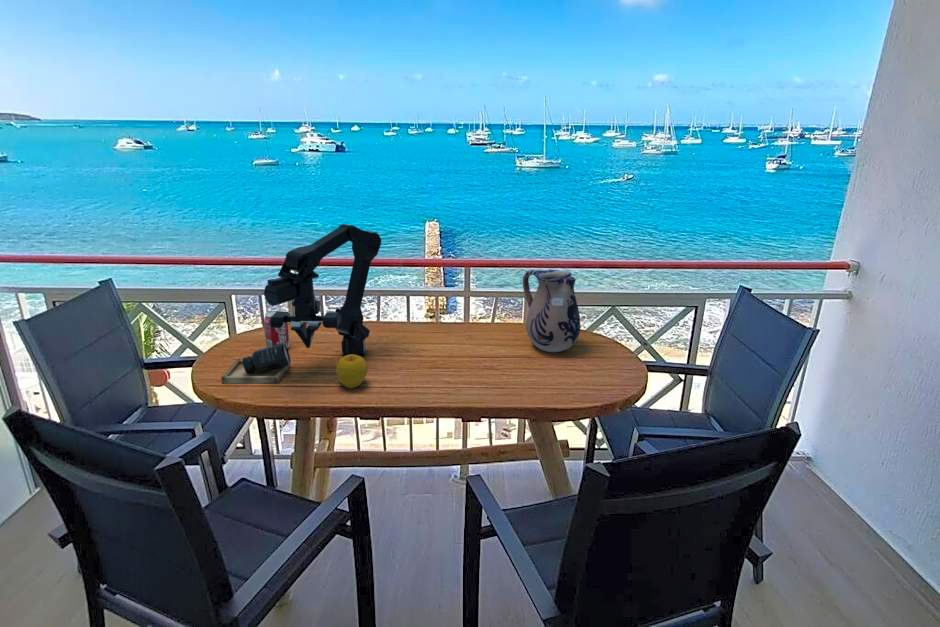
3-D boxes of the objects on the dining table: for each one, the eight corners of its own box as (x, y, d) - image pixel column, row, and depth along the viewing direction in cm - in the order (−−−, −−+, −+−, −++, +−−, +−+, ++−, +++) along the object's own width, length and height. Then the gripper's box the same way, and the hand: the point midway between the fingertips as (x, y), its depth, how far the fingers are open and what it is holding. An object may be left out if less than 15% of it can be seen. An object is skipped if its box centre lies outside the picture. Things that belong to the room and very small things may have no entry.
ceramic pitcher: (566, 363, 169) (572, 285, 160) (505, 347, 179) (509, 274, 170) (586, 344, 183) (593, 272, 174) (529, 331, 193) (533, 262, 184)
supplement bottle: (292, 368, 159) (251, 380, 157) (288, 348, 162) (248, 360, 160) (285, 359, 153) (242, 372, 151) (281, 338, 156) (239, 350, 154)
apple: (374, 385, 152) (373, 357, 149) (348, 395, 147) (346, 366, 144) (357, 375, 158) (355, 347, 155) (331, 384, 153) (329, 356, 150)
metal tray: (290, 364, 164) (289, 359, 163) (278, 383, 153) (277, 377, 152) (237, 364, 163) (237, 359, 163) (222, 383, 152) (221, 377, 152)
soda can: (293, 345, 178) (290, 310, 174) (284, 353, 171) (280, 318, 167) (272, 343, 179) (268, 309, 174) (263, 352, 172) (258, 317, 168)
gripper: (343, 287, 158) (347, 336, 164) (278, 286, 158) (284, 336, 163) (334, 299, 148) (339, 352, 153) (265, 299, 147) (272, 351, 153)
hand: (308, 347), depth 156 cm, fingers closed
